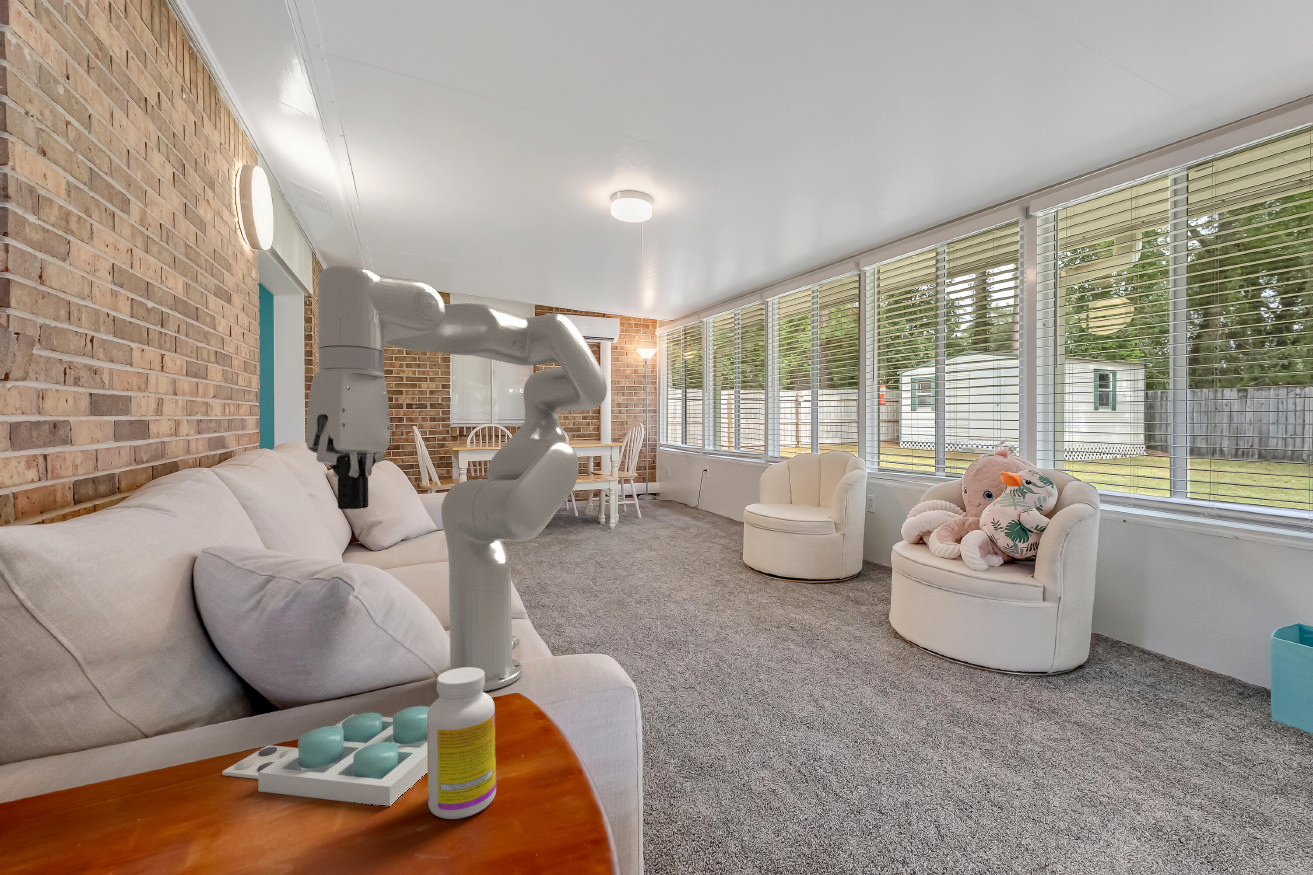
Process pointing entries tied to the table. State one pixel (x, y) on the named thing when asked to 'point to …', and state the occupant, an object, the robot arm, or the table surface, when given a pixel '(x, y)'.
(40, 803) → the table surface
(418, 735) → the button
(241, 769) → the tile
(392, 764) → the button
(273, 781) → the board
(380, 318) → the robot arm
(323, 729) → the button
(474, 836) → the table surface
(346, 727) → the button
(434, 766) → the supplement bottle
